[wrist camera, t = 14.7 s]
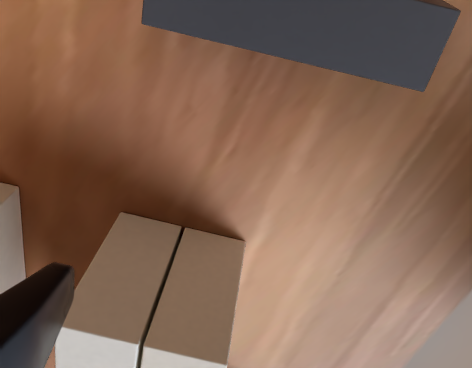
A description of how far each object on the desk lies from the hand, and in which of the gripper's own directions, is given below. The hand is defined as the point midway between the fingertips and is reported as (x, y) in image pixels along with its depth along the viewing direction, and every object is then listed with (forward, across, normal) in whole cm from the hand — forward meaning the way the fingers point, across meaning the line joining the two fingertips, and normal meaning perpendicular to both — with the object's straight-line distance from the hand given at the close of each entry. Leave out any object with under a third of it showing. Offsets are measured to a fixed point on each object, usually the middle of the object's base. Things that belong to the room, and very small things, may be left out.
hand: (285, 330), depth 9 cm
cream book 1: (+13, +6, +13) cm, 19 cm away
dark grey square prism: (+13, +1, -4) cm, 14 cm away
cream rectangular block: (+13, +2, +13) cm, 18 cm away
